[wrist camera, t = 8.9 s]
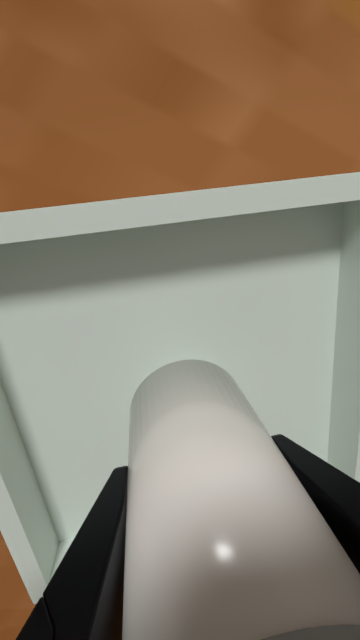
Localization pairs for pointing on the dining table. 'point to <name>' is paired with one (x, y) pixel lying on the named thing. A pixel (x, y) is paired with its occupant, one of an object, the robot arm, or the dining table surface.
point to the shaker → (223, 523)
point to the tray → (168, 334)
